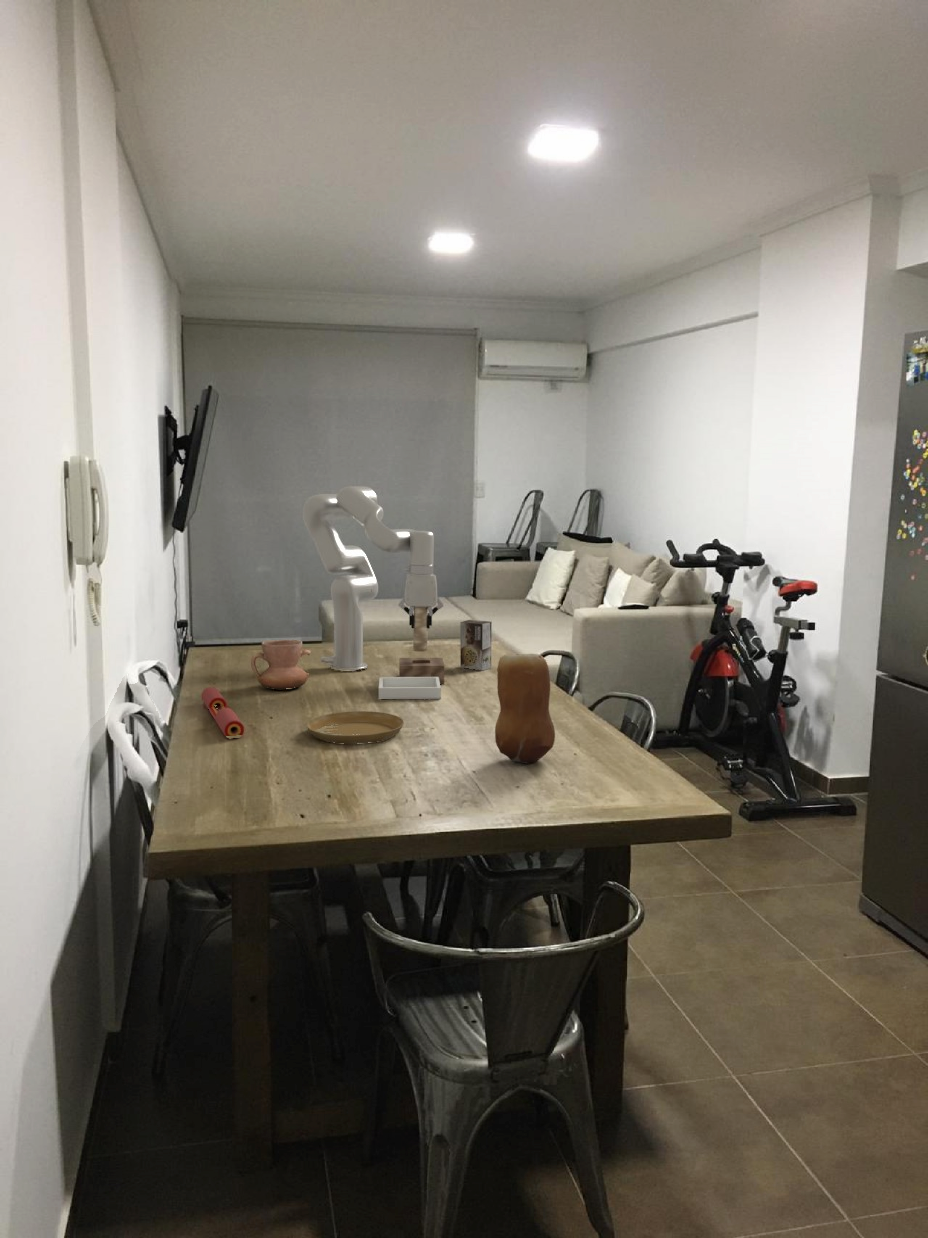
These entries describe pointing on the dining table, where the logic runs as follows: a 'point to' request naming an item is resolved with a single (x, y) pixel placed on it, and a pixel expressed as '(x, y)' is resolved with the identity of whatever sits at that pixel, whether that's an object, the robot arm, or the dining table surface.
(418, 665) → the socket block
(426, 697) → the tray
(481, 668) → the coffee box
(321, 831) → the dining table surface
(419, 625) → the dowel
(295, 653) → the ceramic jug
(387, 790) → the dining table surface
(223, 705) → the blood vessel
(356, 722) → the plant saucer
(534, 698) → the butternut squash
